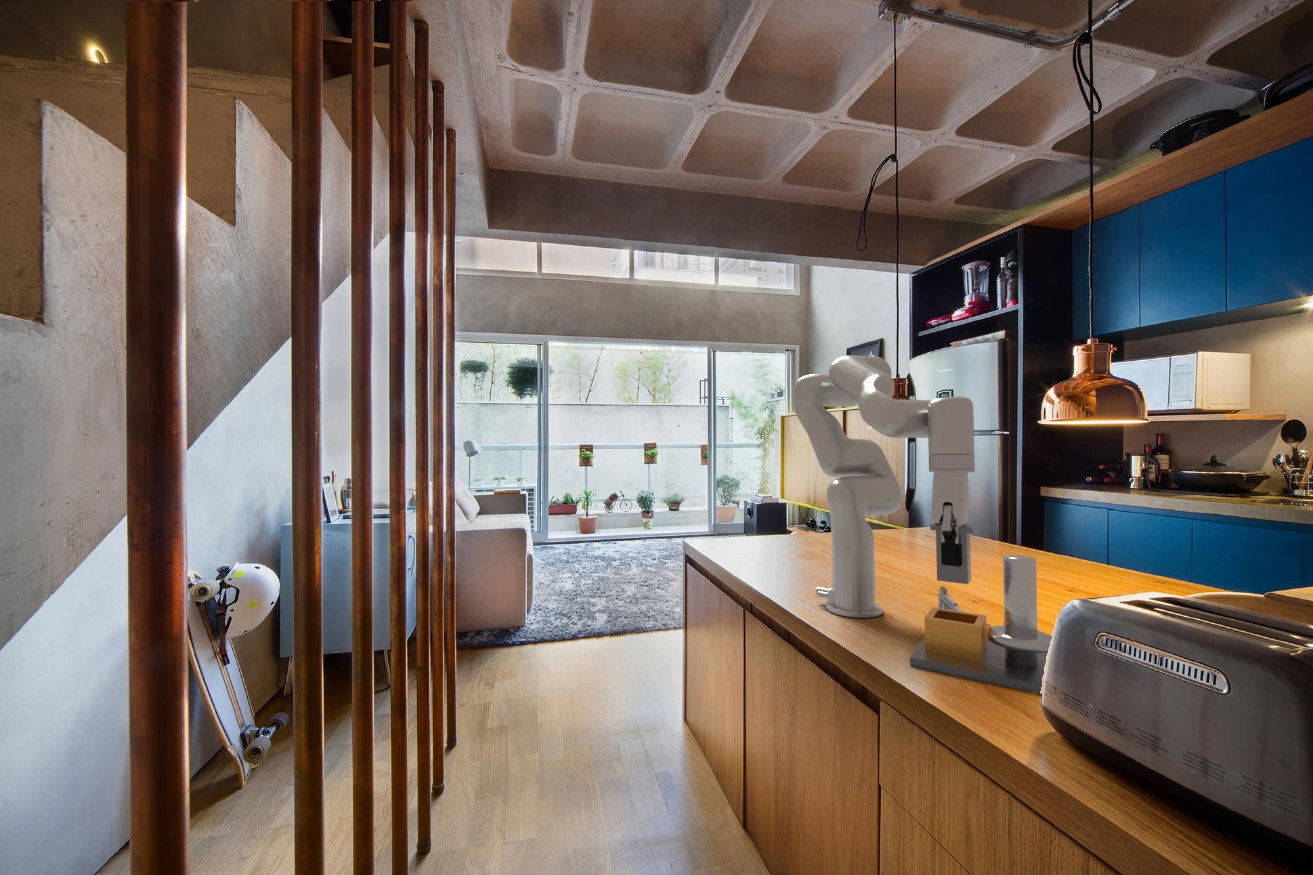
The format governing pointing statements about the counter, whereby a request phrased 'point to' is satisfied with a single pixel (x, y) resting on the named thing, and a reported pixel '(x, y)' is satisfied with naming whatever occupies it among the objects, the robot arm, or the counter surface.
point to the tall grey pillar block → (964, 571)
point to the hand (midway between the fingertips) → (953, 562)
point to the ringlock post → (991, 636)
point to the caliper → (946, 600)
